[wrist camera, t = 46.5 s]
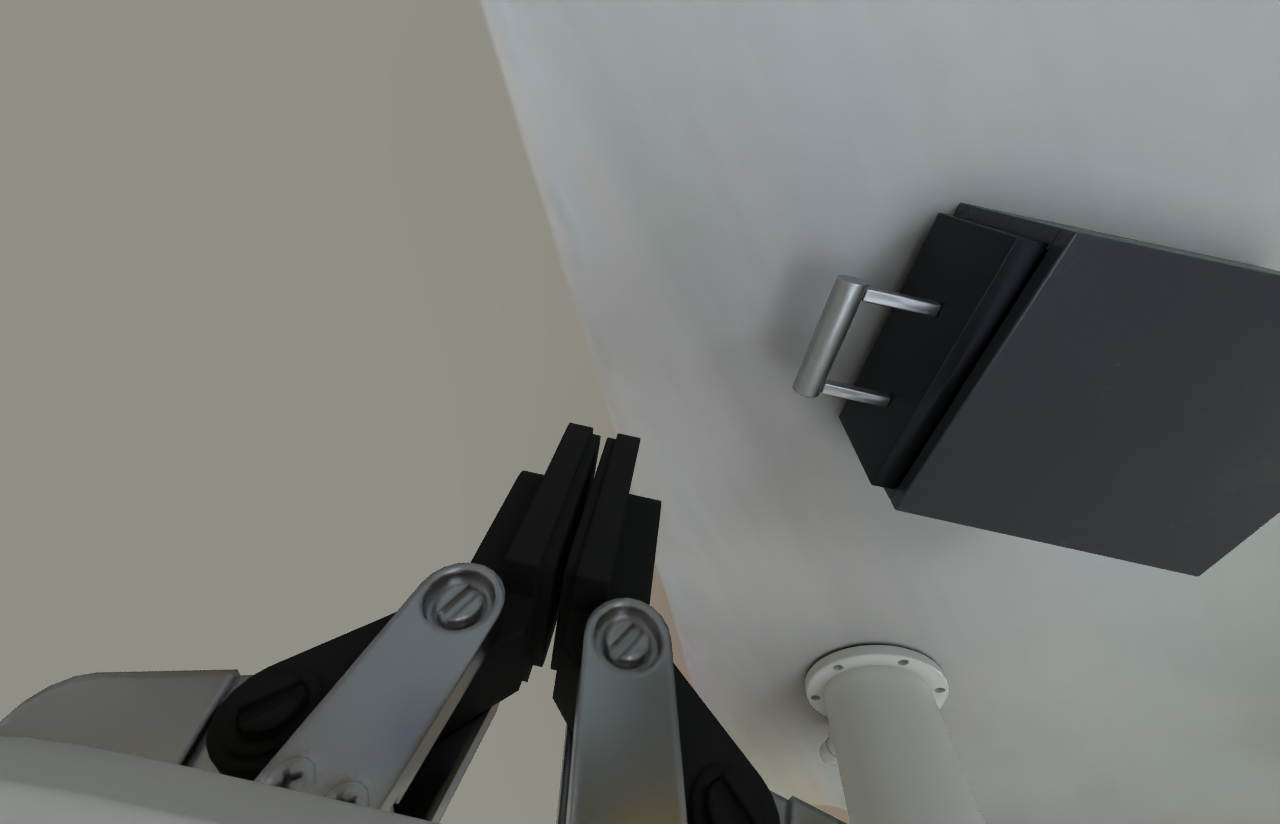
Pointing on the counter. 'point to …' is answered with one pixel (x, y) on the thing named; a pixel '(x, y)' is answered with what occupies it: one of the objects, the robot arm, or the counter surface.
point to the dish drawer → (918, 339)
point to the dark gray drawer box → (1116, 405)
